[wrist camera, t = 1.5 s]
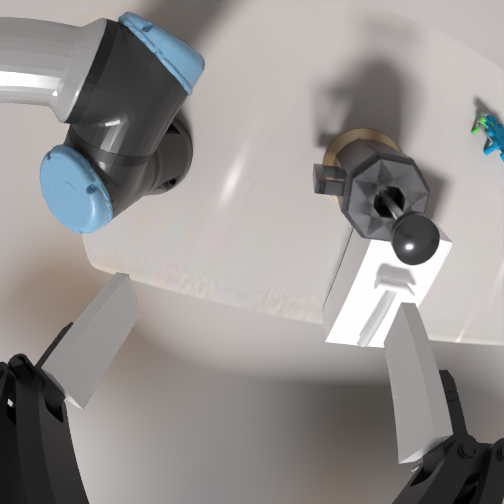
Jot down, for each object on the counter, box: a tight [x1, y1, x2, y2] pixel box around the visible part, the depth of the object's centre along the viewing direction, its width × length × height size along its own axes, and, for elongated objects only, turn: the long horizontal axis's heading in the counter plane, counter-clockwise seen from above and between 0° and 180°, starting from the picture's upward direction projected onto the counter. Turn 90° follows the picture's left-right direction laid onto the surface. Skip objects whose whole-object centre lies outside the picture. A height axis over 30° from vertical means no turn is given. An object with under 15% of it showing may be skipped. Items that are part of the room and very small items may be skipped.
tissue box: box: [323, 219, 453, 347], centre depth 44 cm, size 14×25×11 cm, turn 172°
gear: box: [471, 115, 504, 162], centre depth 29 cm, size 11×6×10 cm
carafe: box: [313, 138, 430, 242], centre depth 34 cm, size 14×11×14 cm
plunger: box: [373, 186, 440, 265], centre depth 26 cm, size 8×8×14 cm
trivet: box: [323, 128, 401, 203], centre depth 40 cm, size 14×14×1 cm
